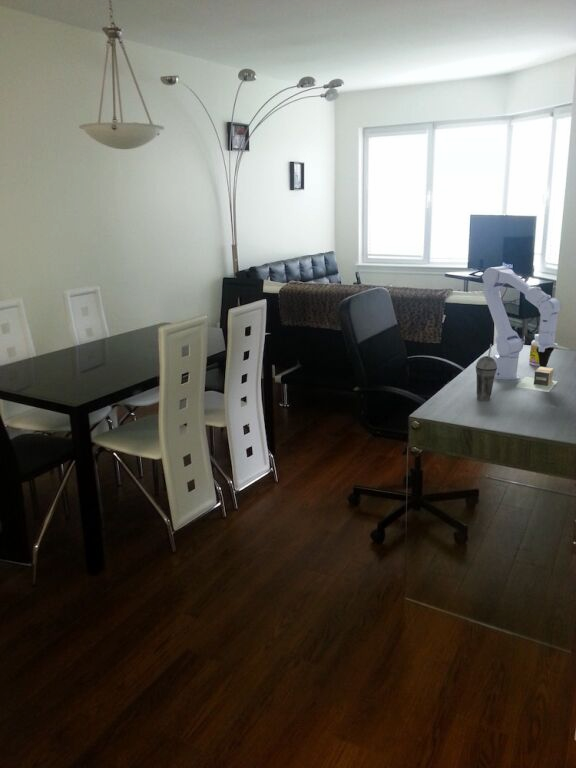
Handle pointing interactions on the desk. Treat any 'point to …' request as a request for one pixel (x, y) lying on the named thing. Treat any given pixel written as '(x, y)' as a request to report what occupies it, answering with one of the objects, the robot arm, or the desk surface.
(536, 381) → the tan block
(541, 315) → the robot arm
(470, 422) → the desk surface
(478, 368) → the beverage cup
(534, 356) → the supplement bottle
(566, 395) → the desk surface
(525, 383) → the mat
